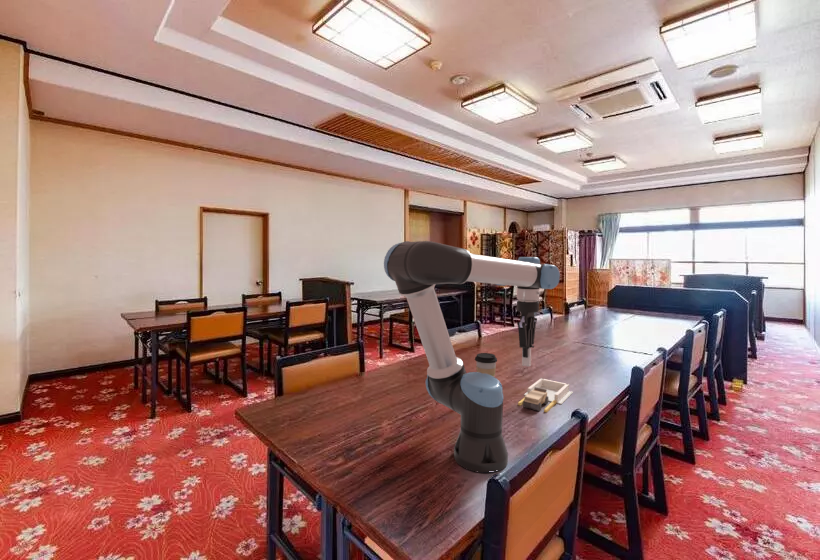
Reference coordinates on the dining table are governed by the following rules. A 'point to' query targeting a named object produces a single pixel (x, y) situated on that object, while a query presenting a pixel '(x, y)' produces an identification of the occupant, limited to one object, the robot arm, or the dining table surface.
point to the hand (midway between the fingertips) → (526, 365)
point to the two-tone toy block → (536, 399)
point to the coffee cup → (486, 363)
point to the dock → (551, 392)
